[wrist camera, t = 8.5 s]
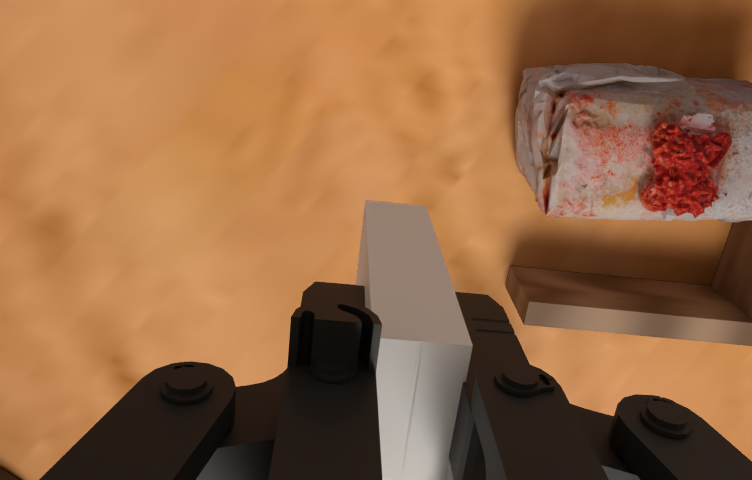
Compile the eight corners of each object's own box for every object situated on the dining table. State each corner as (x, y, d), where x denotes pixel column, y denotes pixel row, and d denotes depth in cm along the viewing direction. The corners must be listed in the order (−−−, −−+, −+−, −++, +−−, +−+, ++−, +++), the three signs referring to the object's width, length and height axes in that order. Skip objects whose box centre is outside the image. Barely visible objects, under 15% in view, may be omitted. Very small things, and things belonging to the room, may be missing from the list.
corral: (505, 286, 41) (523, 324, 37) (590, -111, 33) (627, -127, 28) (725, 308, 42) (770, 347, 38) (863, -73, 34) (942, -82, 29)
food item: (498, 189, 39) (540, 251, 30) (509, 54, 36) (559, 77, 27) (717, 188, 39) (825, 250, 30) (745, 55, 36) (875, 78, 27)
